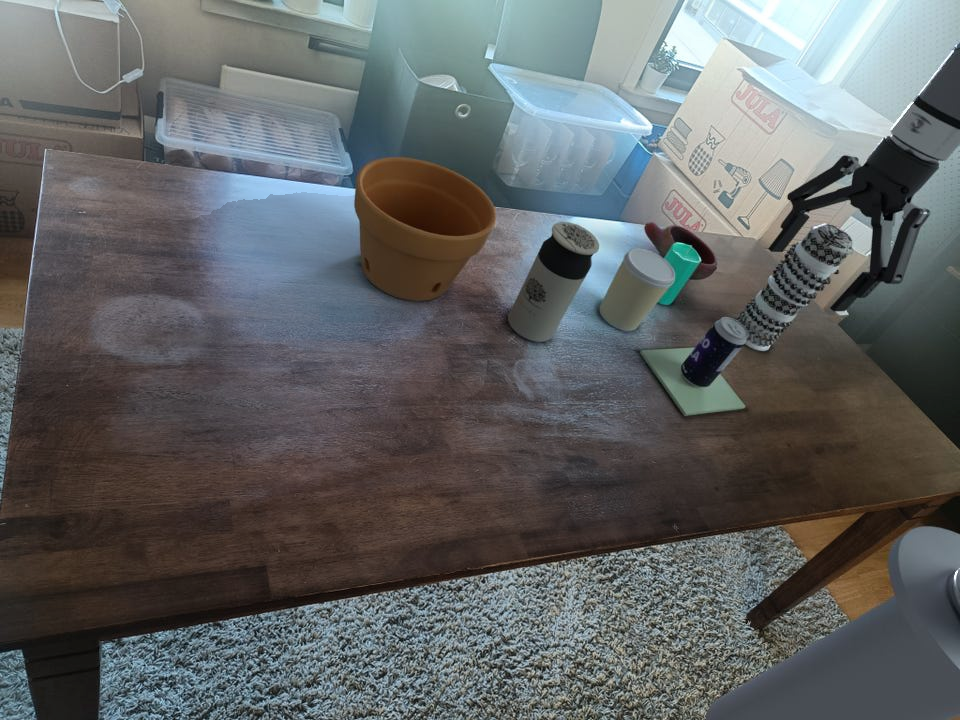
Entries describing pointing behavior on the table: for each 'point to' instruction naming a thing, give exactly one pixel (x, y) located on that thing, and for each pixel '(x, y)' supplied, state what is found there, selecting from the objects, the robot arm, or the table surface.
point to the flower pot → (418, 225)
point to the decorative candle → (794, 284)
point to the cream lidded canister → (636, 288)
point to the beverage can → (714, 352)
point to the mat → (685, 394)
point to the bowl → (676, 233)
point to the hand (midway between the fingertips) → (804, 279)
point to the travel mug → (553, 281)
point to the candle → (680, 269)
